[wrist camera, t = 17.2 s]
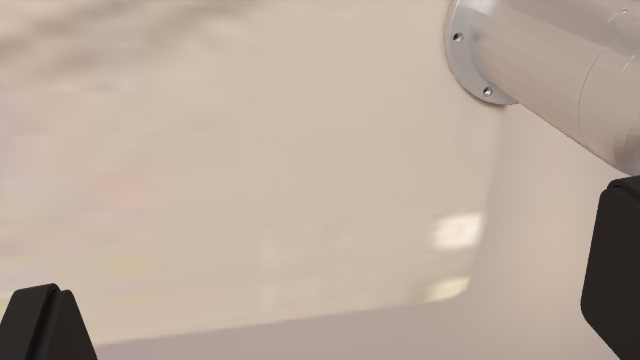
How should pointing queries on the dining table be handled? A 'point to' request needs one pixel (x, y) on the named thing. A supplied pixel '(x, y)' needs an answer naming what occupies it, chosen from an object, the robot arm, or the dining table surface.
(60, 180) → the dining table surface
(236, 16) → the dining table surface
